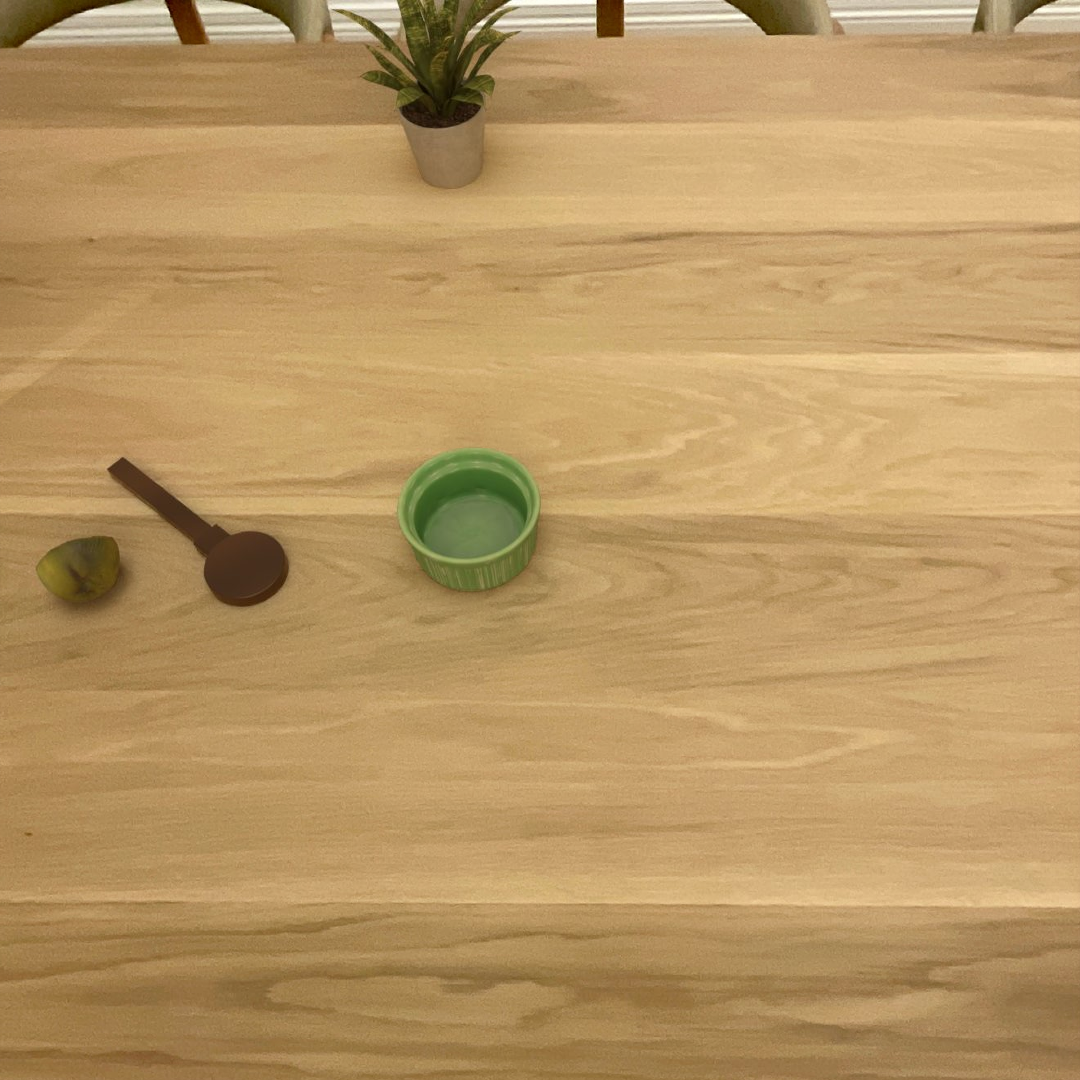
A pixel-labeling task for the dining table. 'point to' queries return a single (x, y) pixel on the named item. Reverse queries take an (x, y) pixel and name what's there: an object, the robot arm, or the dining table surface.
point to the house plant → (439, 87)
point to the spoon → (215, 544)
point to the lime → (80, 568)
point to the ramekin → (471, 517)
